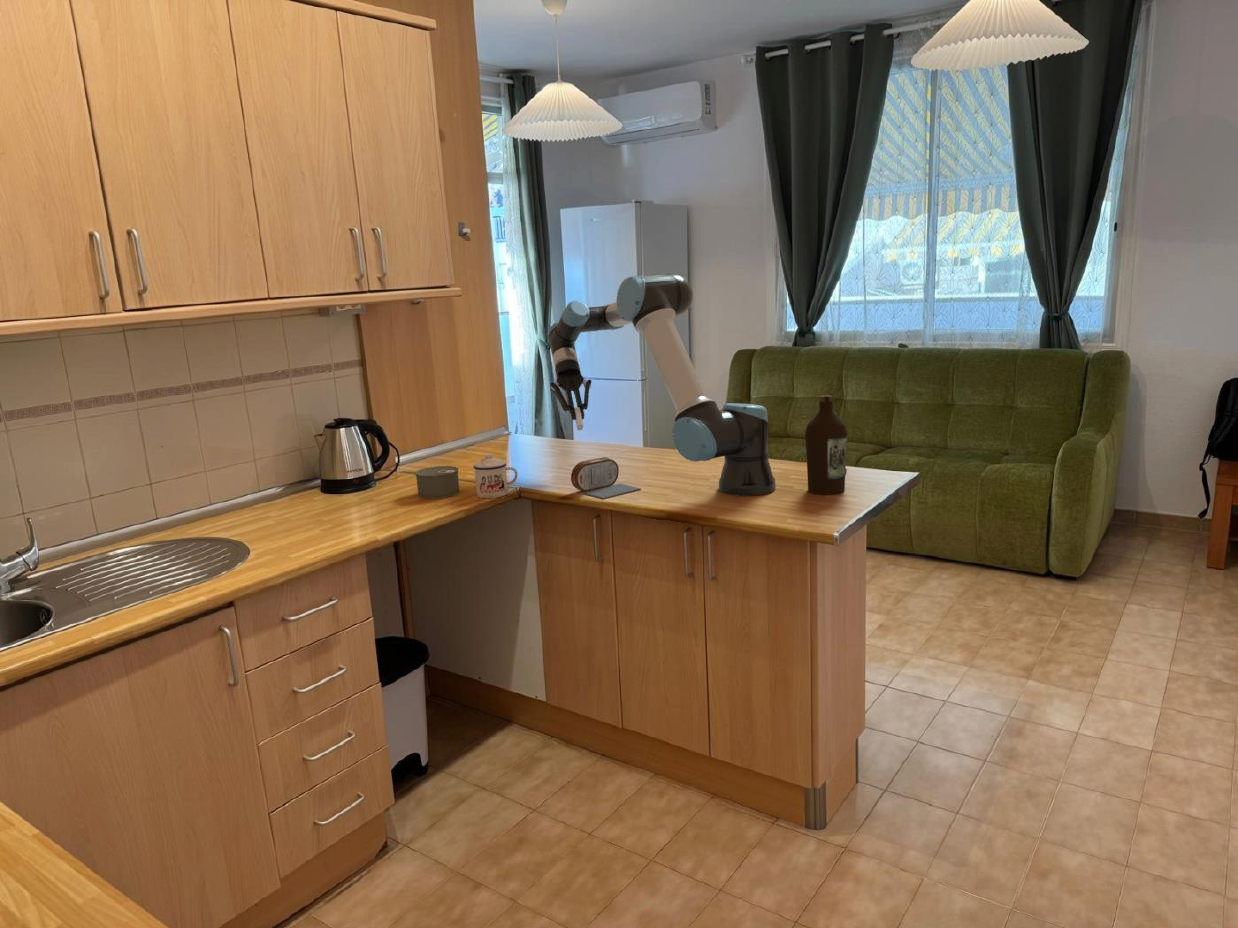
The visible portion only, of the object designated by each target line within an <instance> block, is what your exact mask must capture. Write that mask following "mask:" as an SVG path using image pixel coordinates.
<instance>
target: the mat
mask: <svg viewBox="0 0 1238 928" xmlns="http://www.w3.org/2000/svg"><path fill="white" fill-rule="evenodd" d="M637 490H638V491H641V490H642V488H641V487H636V486H633V485H628V484H624V483H616V484H613V485H611V486H608V487H604V488H599V489H595V490H591V491H583V495H586V496H587V495H588V496H590V497H594V498H598V499H600V500H605V499H610V498H614V497H618V496H621V495H625V494H630V493H634V492H637Z"/></svg>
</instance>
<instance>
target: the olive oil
mask: <svg viewBox="0 0 1238 928" xmlns="http://www.w3.org/2000/svg"><path fill="white" fill-rule="evenodd" d="M818 403H819V404H818V406H819V409H818V412H817V413H816V414H815V415H814V416H813V417H812V418H811V419H810V420H809V421H808V423H807V425H806V426H805V427H806V428H805V433H804V435H805V436H804V438H805V440H804V441H805V454H806V469H807V471H806V473H807V490H808V492H810V493H811V494H817V495H836V494H842V493H843V492H844V491H845V489H846V476H847V471H848V470H847V468H846V465H847V449H848V447H847V446H848V445H847V444H848V429H847V427H846V424H845V422H844V421H843V419H842V418H840V416H838V414H836V412H835V411H834V410H833V409H834V408H833V404H834V401H833V395H830V394H827V395H826V394H824V395H823V394H822V395H820V396H819V402H818Z"/></svg>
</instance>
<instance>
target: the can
mask: <svg viewBox="0 0 1238 928" xmlns="http://www.w3.org/2000/svg"><path fill="white" fill-rule="evenodd" d="M415 477H416V478H415V479H416V486H417V493H418V494H417V495H418V498H419V499H420V498H421V499H424V500H440V499H441V500H442V499H446V498H451V497H454V496H457V495H459V494H460V493H459V492H461V491H460V483H459V482H460V480H459V468H458V467H456V466H450V465H446V466H445V465H441V466H431V467H425V468H421V469H418V470H417V471H415Z"/></svg>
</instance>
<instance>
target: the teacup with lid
mask: <svg viewBox="0 0 1238 928" xmlns="http://www.w3.org/2000/svg"><path fill="white" fill-rule="evenodd" d="M493 455H494V454H493V453H486V454H485V457H483V458H481V459H480V460H479V461H476V462H474V464H473V468H474V477H475V487H476V490H475V491H476V496H477V498H481V499H496V498H500V497H501V498H502V497H504V496H506V495H507V494H508V492H509V490H508V486H511V485H513V484H515V482H516V481H517V480H518V476H519V475H518V473H519V472H518V471H517V470H516V468H515V467H513V466H510V467H509V466H508V467H506V466H507V462H506V461H505V460H503V459H500V458H498V457H495V456H493ZM507 471H513V472H514V478H513V479H512V480H511V481H508V478H507Z"/></svg>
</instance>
